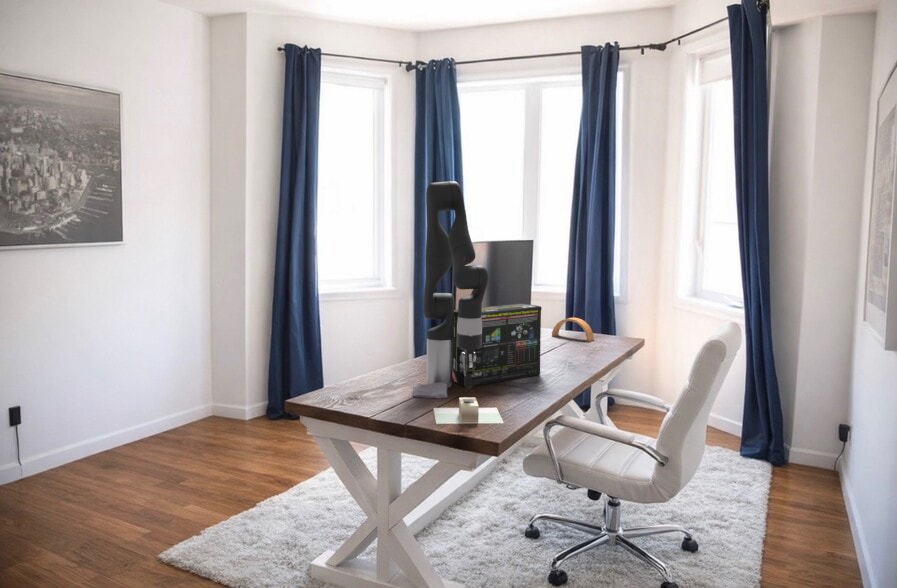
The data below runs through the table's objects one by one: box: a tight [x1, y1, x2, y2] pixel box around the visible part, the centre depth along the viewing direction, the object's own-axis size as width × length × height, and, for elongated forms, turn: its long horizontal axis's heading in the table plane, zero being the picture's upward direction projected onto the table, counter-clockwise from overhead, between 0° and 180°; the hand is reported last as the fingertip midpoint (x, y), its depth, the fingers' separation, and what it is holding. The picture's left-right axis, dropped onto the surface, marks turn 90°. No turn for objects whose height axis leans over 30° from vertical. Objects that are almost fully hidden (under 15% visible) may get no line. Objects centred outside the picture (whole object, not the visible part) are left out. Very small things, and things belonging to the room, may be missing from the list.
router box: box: [452, 302, 543, 387], centre depth 265 cm, size 36×11×27 cm, turn 125°
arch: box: [551, 317, 595, 343], centre depth 348 cm, size 6×20×10 cm, turn 52°
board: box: [433, 407, 505, 425], centre depth 217 cm, size 16×20×1 cm
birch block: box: [458, 397, 480, 422], centre depth 214 cm, size 5×5×9 cm
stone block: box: [412, 382, 448, 399], centre depth 240 cm, size 12×5×10 cm
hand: (468, 387), depth 217 cm, fingers closed
